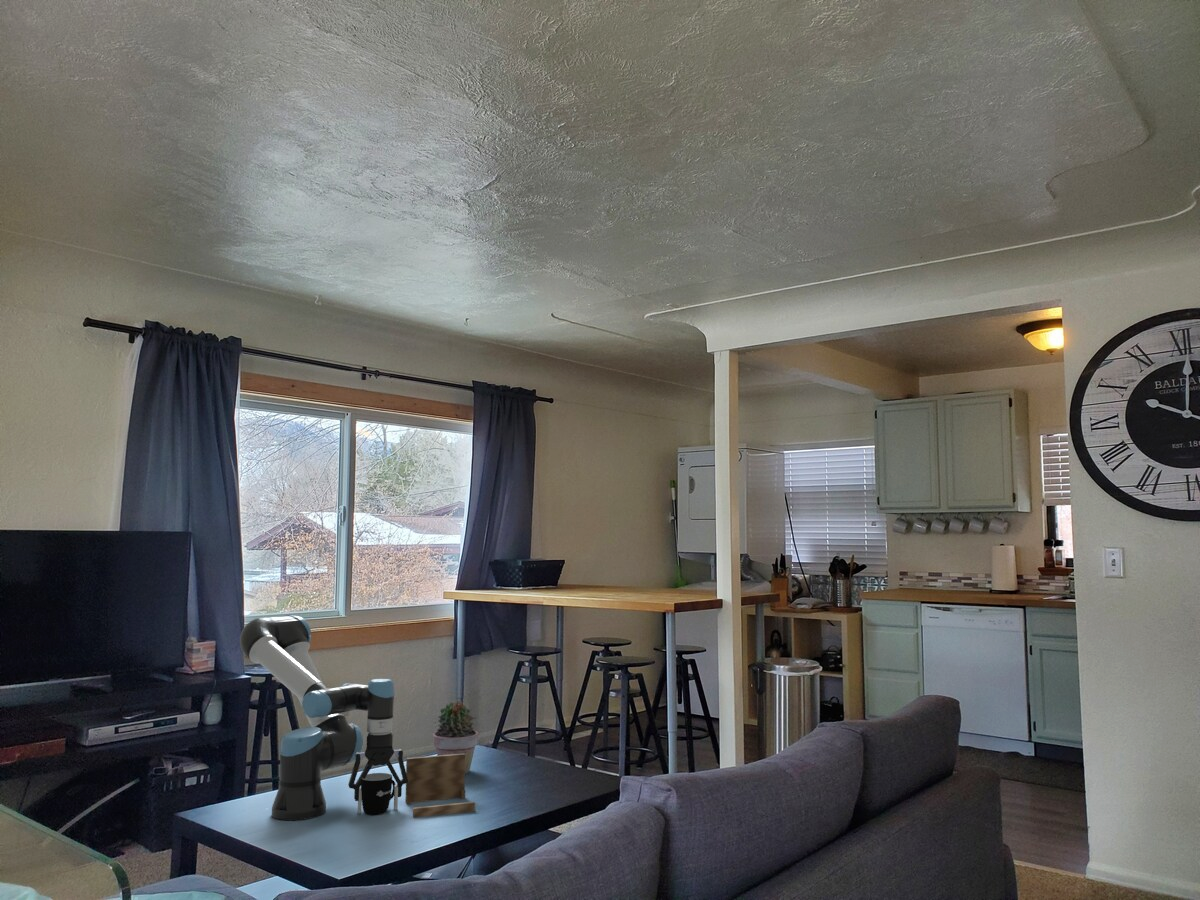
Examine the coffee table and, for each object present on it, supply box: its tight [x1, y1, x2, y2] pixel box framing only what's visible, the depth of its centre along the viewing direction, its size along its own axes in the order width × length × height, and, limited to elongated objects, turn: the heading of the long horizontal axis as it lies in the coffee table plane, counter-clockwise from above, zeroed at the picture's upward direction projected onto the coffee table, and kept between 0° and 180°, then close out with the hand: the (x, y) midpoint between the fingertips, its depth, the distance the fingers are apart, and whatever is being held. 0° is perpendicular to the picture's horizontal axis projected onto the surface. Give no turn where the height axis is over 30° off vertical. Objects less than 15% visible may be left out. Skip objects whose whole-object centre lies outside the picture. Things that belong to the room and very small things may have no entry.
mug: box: [360, 772, 397, 816], centre depth 259 cm, size 12×9×10 cm
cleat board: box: [405, 753, 476, 818], centre depth 264 cm, size 18×17×13 cm
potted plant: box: [432, 700, 479, 775], centre depth 306 cm, size 18×20×25 cm
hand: (377, 810), depth 258 cm, fingers closed on mug, 10 cm apart
